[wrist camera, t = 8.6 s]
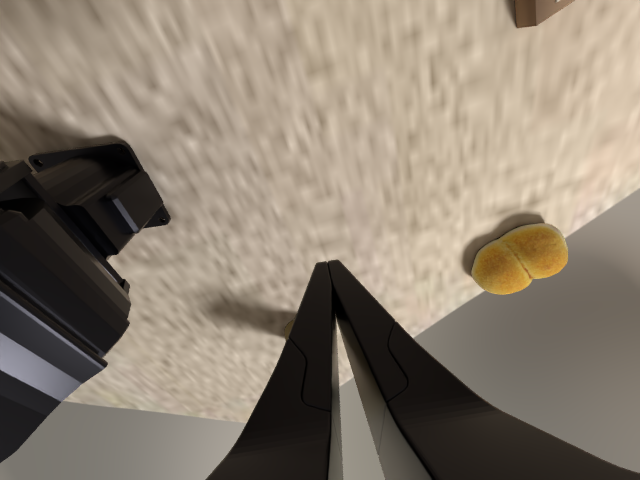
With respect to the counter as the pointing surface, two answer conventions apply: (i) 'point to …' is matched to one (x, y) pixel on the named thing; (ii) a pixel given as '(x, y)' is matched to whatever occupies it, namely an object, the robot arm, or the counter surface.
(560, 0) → the board
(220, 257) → the counter surface
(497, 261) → the bread roll
